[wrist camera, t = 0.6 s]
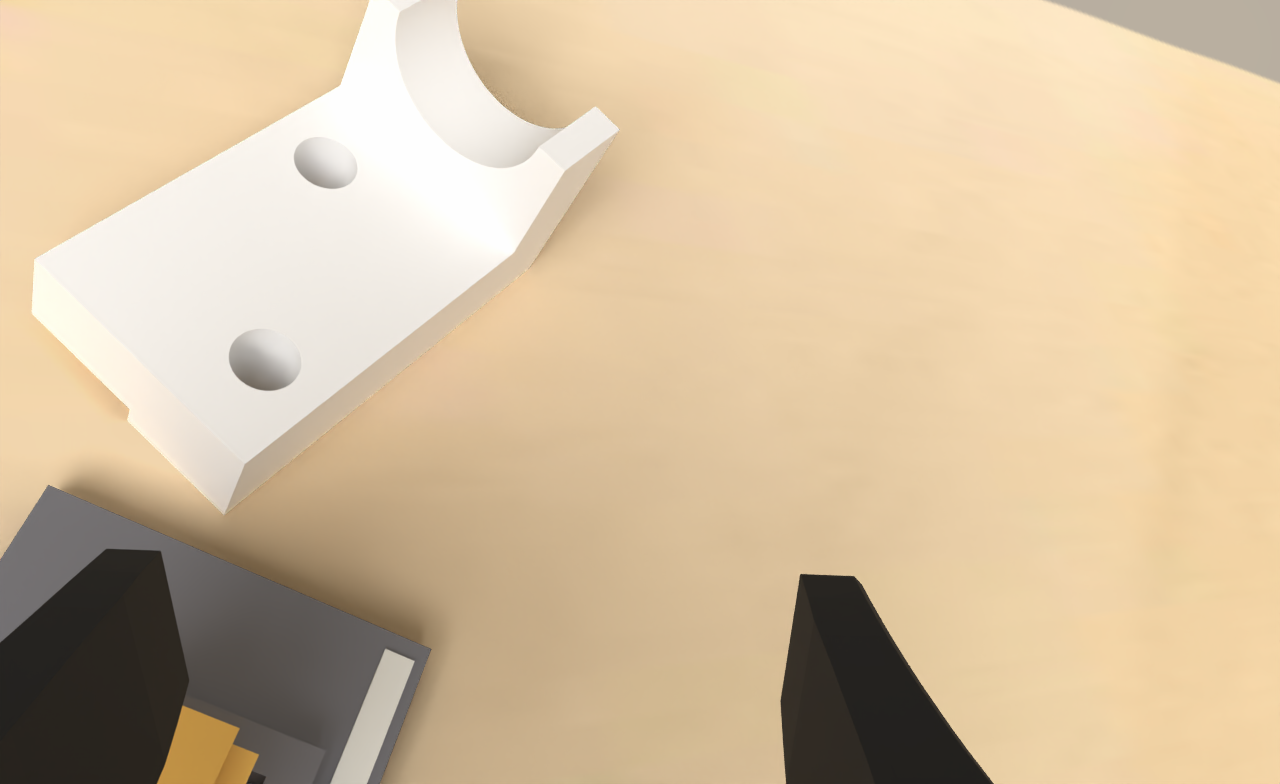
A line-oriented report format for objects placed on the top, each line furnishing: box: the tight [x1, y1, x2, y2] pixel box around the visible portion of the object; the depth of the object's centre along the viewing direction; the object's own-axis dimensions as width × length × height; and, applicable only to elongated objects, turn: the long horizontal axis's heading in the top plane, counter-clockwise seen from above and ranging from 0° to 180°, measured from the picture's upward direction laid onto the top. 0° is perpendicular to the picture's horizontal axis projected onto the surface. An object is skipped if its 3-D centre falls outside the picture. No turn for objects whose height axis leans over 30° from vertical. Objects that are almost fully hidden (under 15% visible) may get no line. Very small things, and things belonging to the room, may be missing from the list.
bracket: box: [32, 0, 620, 515], centre depth 33 cm, size 13×7×8 cm, turn 142°
